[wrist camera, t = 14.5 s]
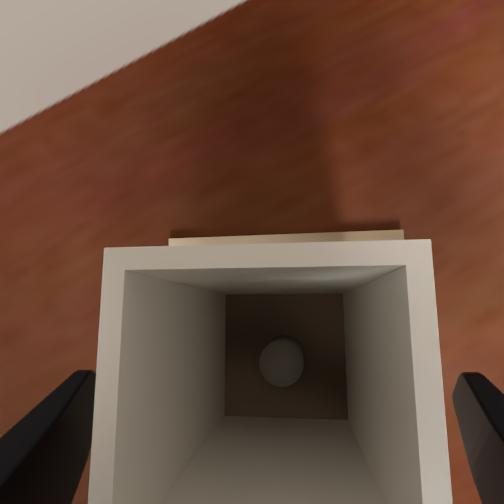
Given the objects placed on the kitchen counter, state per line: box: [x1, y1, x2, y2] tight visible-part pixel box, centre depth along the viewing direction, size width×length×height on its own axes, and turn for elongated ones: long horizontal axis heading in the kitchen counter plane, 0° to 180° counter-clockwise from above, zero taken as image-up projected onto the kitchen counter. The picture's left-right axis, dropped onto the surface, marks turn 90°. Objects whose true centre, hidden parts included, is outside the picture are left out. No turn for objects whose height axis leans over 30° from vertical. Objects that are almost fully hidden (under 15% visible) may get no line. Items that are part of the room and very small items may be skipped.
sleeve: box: [88, 239, 453, 504], centre depth 12 cm, size 7×7×11 cm
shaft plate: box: [169, 230, 404, 420], centre depth 17 cm, size 12×12×4 cm
